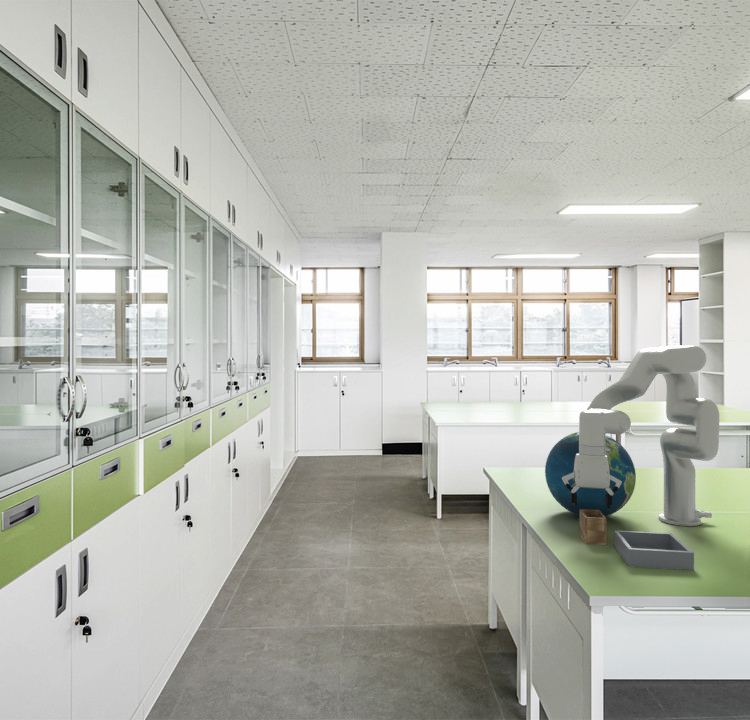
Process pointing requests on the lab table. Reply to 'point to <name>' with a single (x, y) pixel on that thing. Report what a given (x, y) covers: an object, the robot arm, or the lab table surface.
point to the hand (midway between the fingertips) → (591, 506)
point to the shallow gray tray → (653, 550)
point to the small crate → (593, 527)
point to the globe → (589, 498)
